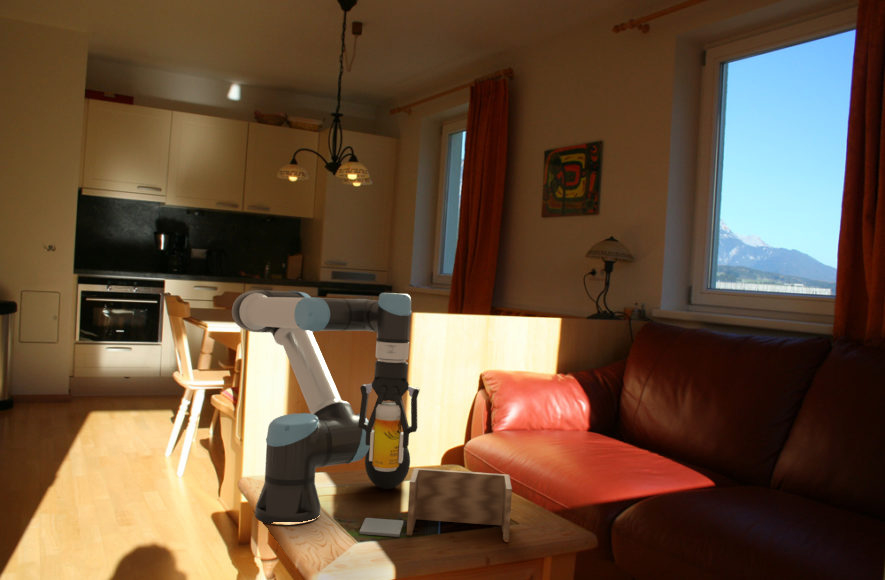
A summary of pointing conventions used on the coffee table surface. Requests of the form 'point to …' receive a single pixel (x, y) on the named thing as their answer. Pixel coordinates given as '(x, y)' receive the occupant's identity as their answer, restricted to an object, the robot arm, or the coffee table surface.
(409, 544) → the coffee table surface
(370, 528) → the slate coaster
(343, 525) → the coffee table surface
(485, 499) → the wooden monitor riser
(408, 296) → the robot arm
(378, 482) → the decorative egg
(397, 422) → the beer can
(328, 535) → the coffee table surface
